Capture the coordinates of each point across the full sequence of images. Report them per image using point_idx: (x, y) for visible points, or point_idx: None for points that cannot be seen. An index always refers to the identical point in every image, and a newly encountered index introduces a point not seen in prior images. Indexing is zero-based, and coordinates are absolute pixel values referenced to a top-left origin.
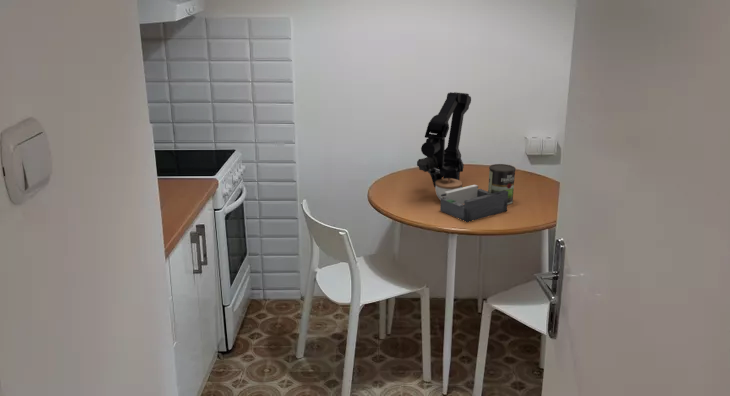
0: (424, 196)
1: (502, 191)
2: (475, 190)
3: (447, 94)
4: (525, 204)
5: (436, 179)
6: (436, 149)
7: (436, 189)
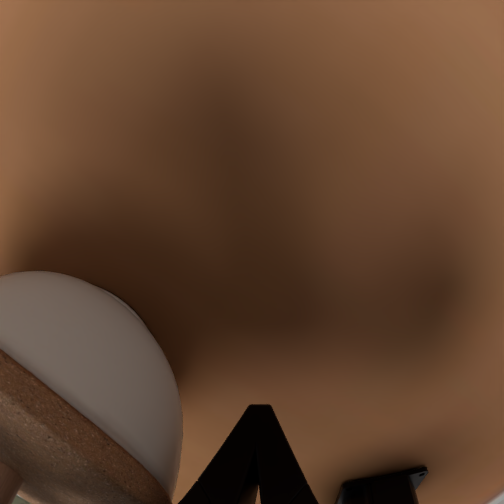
0: (306, 237)
1: None
2: None
3: None
4: None
5: (184, 501)
6: None
7: (12, 302)
